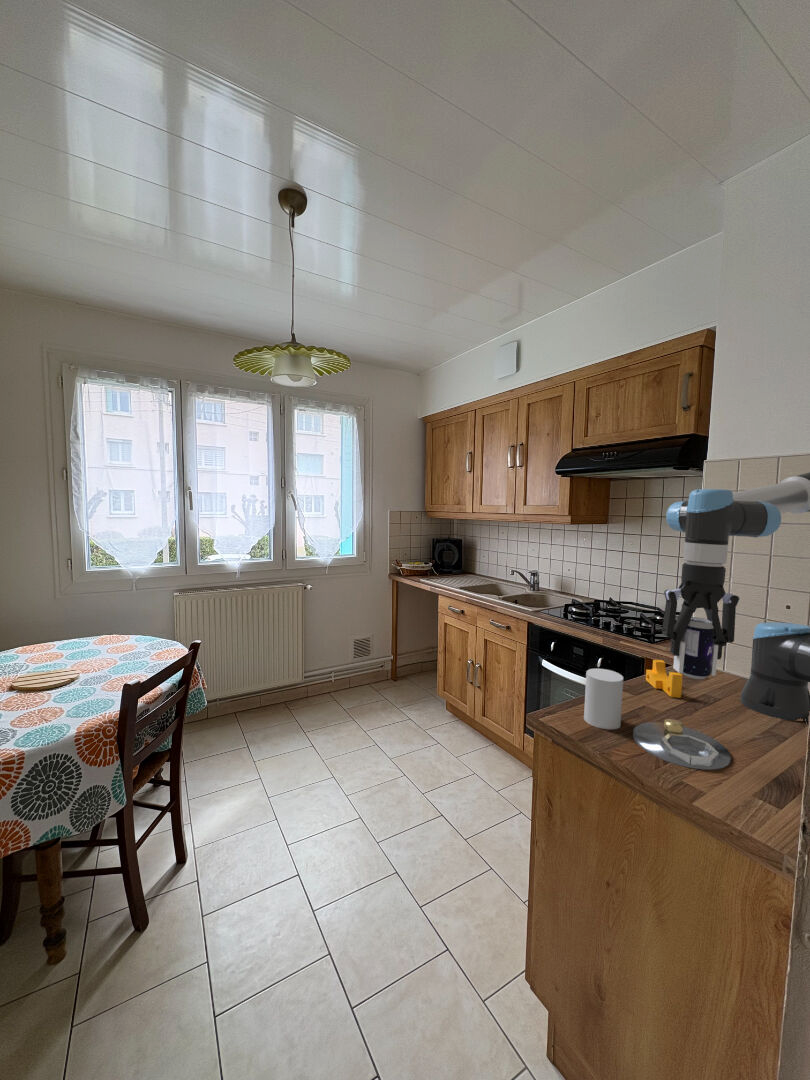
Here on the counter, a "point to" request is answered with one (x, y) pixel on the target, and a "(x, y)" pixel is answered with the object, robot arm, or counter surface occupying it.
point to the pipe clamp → (664, 679)
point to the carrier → (681, 745)
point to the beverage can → (698, 648)
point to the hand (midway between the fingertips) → (693, 671)
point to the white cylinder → (603, 698)
